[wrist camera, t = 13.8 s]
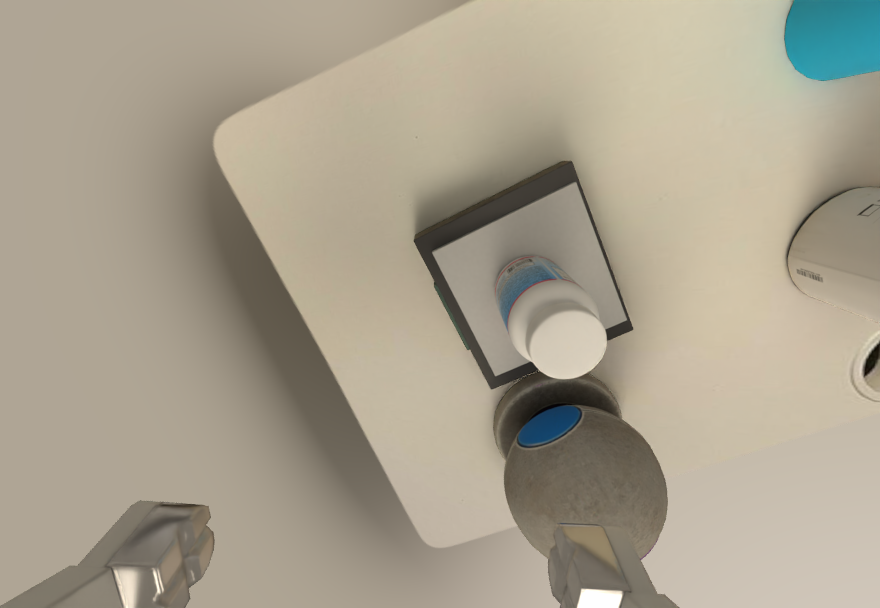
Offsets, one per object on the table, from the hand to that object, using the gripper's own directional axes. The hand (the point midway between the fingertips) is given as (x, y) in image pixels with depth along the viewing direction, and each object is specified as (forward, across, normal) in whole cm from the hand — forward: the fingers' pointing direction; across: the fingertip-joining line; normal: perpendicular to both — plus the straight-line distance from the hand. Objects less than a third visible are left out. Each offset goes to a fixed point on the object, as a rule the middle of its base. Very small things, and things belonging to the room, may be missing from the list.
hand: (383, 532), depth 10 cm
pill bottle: (+26, -9, +2) cm, 28 cm away
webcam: (+29, -14, +17) cm, 37 cm away
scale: (+29, -9, +2) cm, 31 cm away
